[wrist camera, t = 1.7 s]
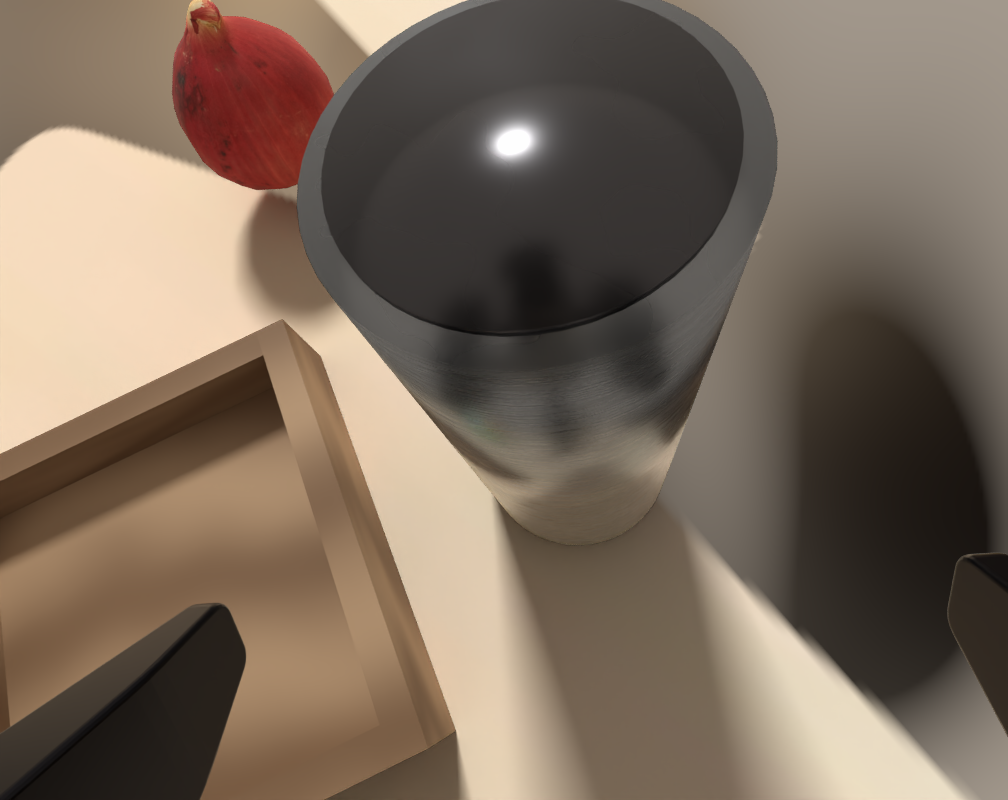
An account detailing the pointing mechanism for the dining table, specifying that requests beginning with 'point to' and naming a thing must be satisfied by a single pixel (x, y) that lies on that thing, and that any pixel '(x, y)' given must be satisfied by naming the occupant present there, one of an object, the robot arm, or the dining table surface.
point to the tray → (222, 566)
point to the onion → (246, 97)
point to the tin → (545, 236)
